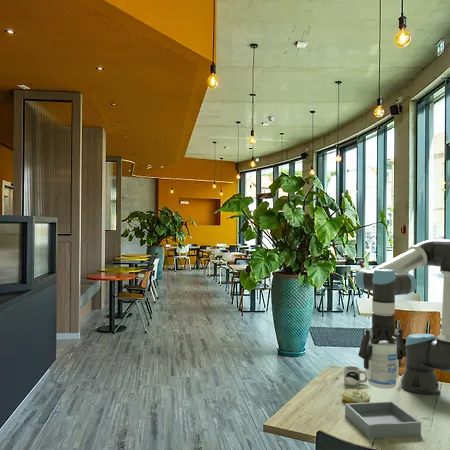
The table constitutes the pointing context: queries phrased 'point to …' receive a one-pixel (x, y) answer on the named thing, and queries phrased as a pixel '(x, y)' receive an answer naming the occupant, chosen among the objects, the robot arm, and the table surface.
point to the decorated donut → (355, 396)
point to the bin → (382, 419)
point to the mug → (353, 376)
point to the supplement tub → (383, 365)
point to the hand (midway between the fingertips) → (381, 377)
